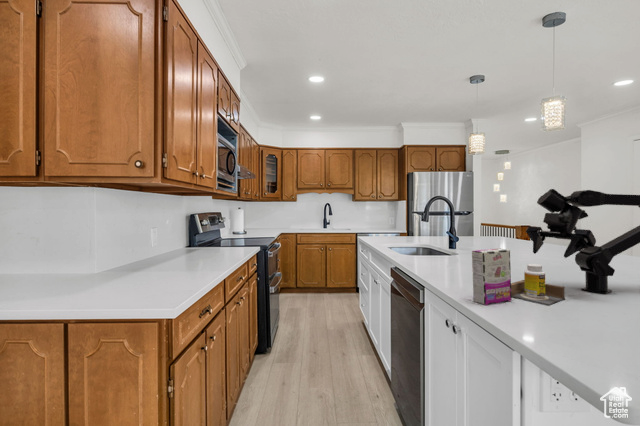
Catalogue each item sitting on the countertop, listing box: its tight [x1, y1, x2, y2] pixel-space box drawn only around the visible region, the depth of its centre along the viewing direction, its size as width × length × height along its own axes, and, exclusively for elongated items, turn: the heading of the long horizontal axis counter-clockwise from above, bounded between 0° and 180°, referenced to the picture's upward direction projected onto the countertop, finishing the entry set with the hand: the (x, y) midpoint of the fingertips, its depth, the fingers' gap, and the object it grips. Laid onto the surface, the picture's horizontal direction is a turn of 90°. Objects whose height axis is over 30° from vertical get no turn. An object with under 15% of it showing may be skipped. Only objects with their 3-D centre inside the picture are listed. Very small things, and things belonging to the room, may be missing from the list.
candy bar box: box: [471, 248, 513, 306], centre depth 97 cm, size 11×5×16 cm, turn 109°
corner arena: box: [511, 279, 566, 307], centre depth 99 cm, size 12×12×4 cm
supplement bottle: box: [523, 263, 546, 298], centre depth 99 cm, size 6×6×10 cm
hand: (548, 254), depth 102 cm, fingers open, 9 cm apart
